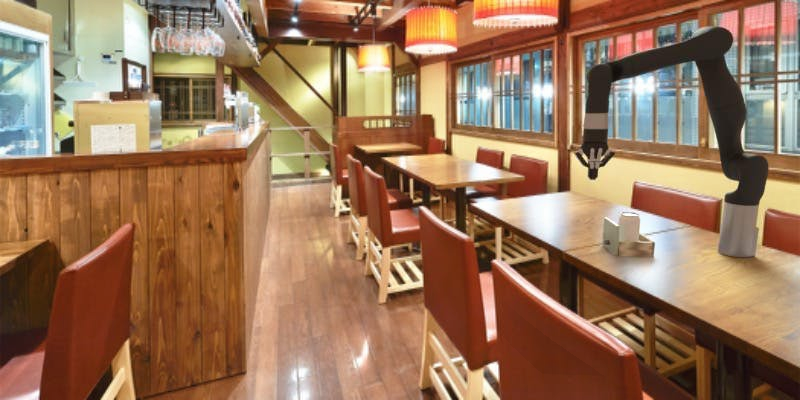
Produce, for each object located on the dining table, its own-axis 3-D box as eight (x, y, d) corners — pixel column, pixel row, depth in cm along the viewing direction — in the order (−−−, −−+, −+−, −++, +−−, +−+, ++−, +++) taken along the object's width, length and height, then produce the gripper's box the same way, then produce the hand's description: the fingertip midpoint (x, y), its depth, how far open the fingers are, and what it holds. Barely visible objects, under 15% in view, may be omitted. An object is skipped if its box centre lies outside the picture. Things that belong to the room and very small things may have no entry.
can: (612, 246, 158) (615, 212, 156) (627, 244, 160) (630, 211, 158) (626, 251, 152) (629, 216, 150) (642, 249, 154) (645, 215, 151)
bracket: (634, 244, 162) (636, 217, 160) (649, 255, 150) (651, 226, 148) (598, 244, 163) (600, 217, 161) (610, 255, 151) (612, 226, 149)
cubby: (637, 245, 162) (638, 231, 161) (653, 257, 149) (655, 242, 148) (605, 245, 163) (606, 231, 162) (618, 256, 151) (620, 242, 150)
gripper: (578, 128, 146) (575, 181, 150) (621, 127, 145) (617, 181, 148) (571, 127, 154) (569, 177, 157) (612, 126, 152) (609, 177, 156)
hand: (592, 179), depth 153 cm, fingers closed
